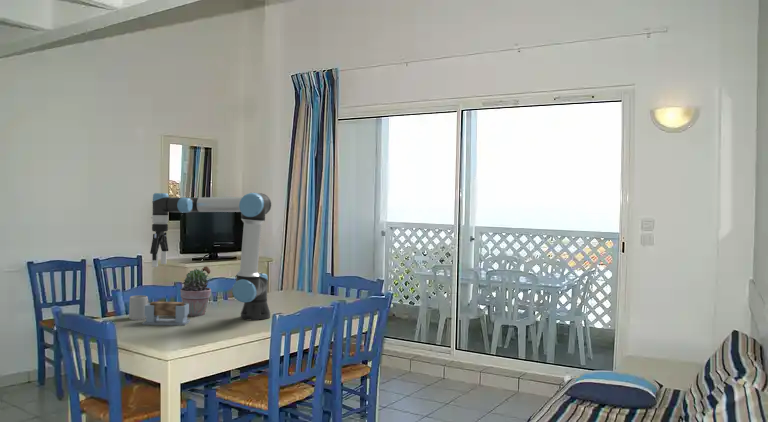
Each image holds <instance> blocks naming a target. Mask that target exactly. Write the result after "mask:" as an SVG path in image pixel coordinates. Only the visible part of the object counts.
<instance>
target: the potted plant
mask: <svg viewBox="0 0 768 422" xmlns="http://www.w3.org/2000/svg"><path fill="white" fill-rule="evenodd" d="M206 273H207V274H206ZM210 273H211V270H210V268H209V267H208V266H207V265H206V266H203V268H201V269H197V268H195V269H193V270H189V272H187V273H186V276H185V277H184V278H185V279H184V280H183V281H182V282H181V285H183V286H182V287H181V288H179V291H180V298H181V299H182V302H184V304H189V314H188V315H187V317H188V316H189V317H197V316H198V317H199V316H204V315H205V314H206V311H207V308H208V304H209V300H210V298H211V294H212V288H210V287H208V286H209V282H208V278H210V279H211V278H212V277H210V276H209V275H210Z"/></svg>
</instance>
